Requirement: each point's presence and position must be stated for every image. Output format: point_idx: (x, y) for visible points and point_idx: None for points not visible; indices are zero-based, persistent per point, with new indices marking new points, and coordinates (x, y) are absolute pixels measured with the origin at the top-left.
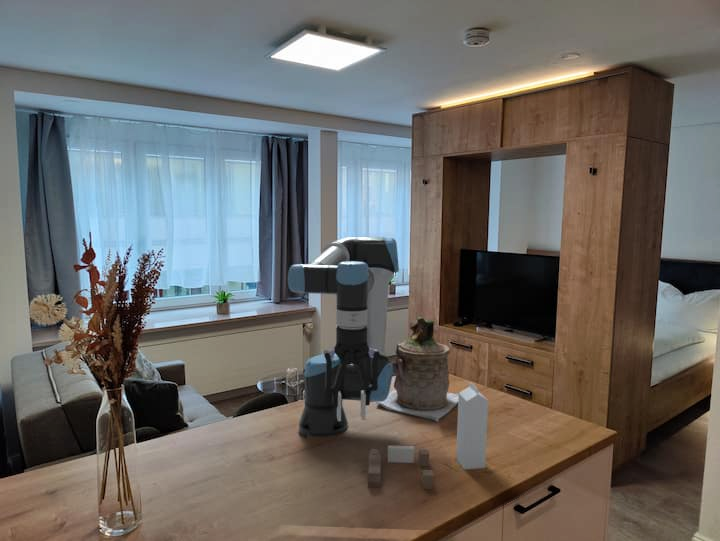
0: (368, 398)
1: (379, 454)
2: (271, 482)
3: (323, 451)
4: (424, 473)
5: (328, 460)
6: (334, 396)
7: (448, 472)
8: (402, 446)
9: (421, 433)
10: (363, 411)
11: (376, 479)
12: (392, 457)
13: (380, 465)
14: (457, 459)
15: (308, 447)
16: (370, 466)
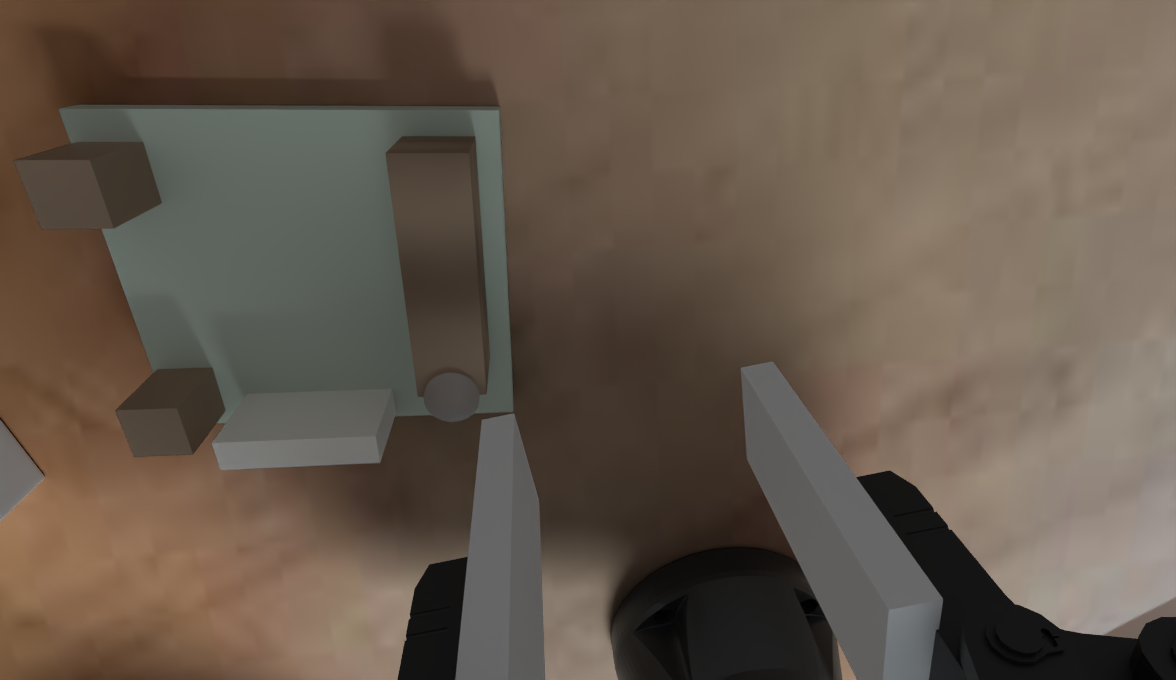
0: (424, 649)
1: (420, 375)
2: (975, 197)
3: (717, 470)
4: (89, 186)
5: (693, 403)
6: (978, 591)
7: (57, 354)
8: (290, 461)
9: (268, 647)
10: (500, 478)
11: (419, 146)
12: (360, 405)
13: (399, 254)
14: (31, 465)
15: None
16: (462, 238)
